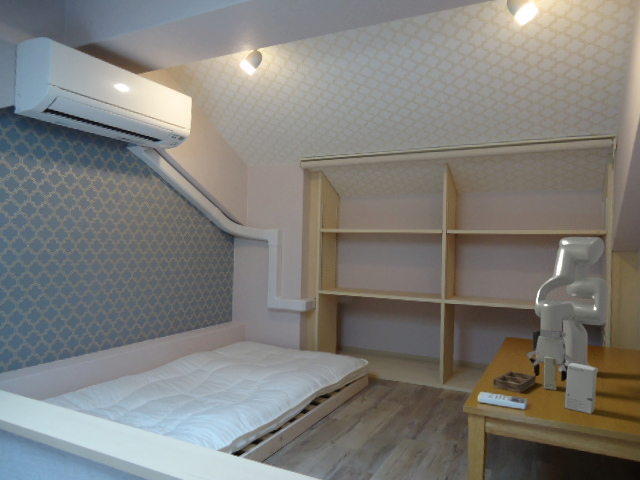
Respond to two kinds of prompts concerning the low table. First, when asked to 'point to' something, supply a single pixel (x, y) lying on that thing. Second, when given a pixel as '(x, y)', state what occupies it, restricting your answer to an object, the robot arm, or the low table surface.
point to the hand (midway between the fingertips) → (550, 378)
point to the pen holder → (535, 339)
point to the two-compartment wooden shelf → (514, 381)
